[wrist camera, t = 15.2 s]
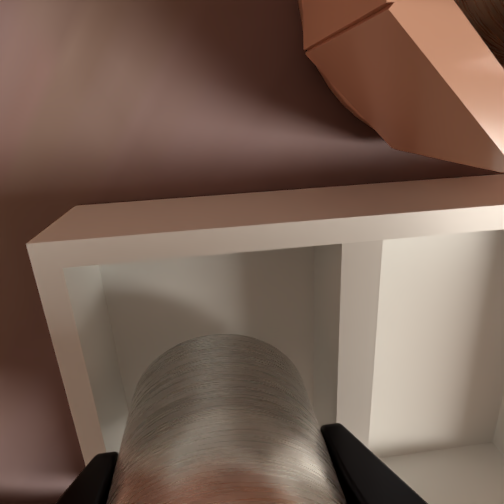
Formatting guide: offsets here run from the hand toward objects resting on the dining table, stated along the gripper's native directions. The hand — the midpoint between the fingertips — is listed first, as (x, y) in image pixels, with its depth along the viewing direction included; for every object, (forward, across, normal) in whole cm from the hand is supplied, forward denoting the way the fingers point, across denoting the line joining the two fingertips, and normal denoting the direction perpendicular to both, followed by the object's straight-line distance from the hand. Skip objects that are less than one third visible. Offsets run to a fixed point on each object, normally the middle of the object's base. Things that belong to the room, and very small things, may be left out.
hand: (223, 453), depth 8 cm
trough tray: (+4, -3, 0) cm, 5 cm away
